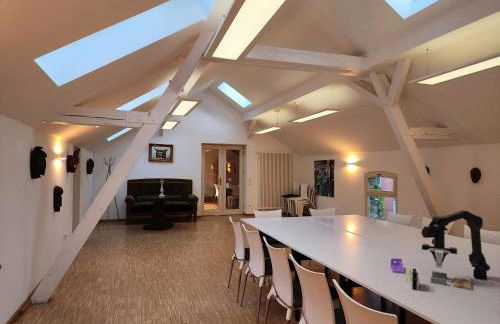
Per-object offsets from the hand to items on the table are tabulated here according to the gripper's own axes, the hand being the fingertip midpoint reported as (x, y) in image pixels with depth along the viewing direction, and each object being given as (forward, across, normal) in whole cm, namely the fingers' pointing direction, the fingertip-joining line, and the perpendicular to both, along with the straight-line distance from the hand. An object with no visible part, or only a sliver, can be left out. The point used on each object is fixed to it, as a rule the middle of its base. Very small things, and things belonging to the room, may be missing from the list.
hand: (439, 262), depth 199 cm
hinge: (+11, +13, +20) cm, 26 cm away
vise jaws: (+11, 0, 0) cm, 11 cm away
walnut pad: (+11, -12, 0) cm, 16 cm away
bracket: (+12, +25, -7) cm, 28 cm away
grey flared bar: (+2, 0, 0) cm, 2 cm away
